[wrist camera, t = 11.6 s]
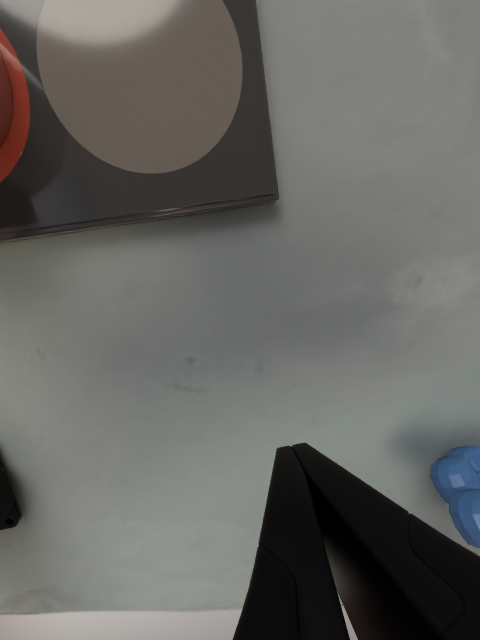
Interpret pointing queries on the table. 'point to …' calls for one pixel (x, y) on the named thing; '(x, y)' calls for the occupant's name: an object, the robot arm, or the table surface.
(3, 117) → the pot
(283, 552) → the robot arm
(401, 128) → the table surface
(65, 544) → the table surface
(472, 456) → the grapes
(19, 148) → the hob
